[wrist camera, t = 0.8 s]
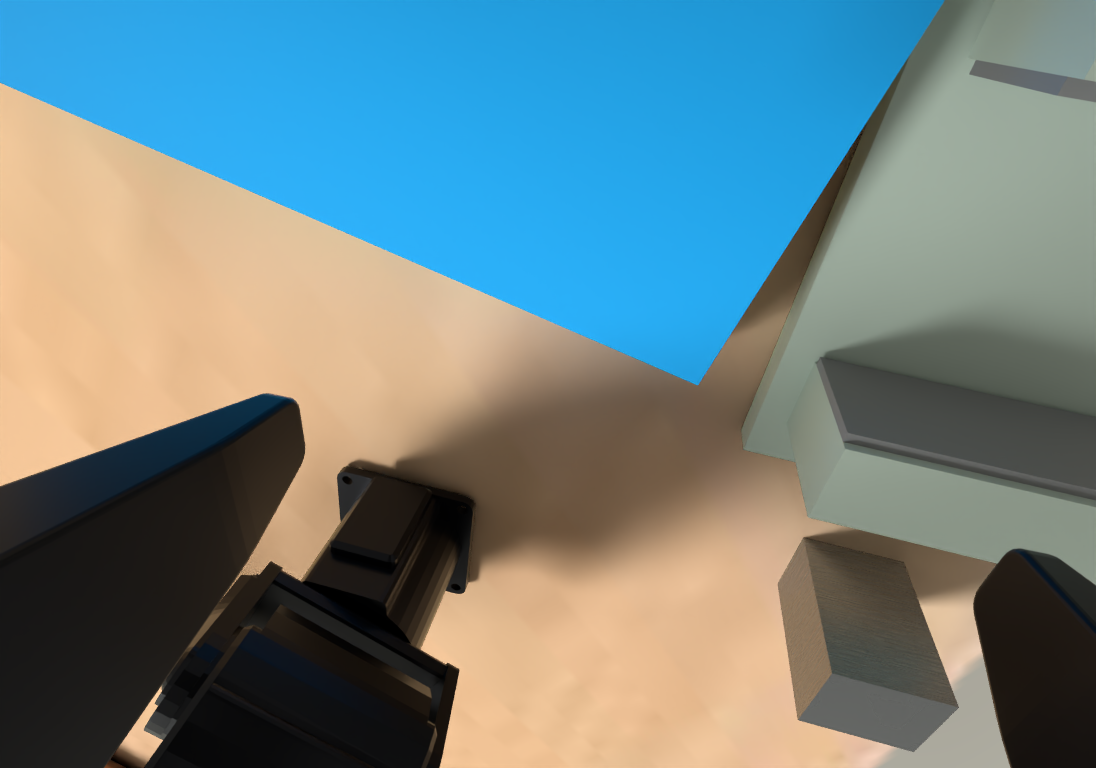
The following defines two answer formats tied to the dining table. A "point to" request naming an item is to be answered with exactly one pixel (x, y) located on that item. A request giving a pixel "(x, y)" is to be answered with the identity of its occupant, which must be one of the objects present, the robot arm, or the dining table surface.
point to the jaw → (1040, 46)
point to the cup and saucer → (113, 765)
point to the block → (861, 647)
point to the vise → (950, 320)
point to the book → (504, 132)
